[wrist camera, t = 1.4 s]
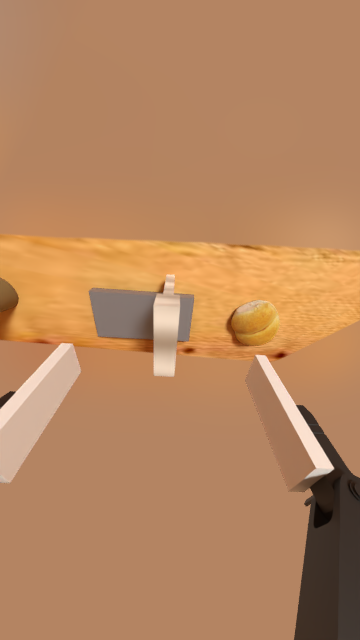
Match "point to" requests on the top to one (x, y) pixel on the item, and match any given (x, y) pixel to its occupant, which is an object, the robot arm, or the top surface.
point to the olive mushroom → (7, 296)
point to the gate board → (134, 313)
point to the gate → (166, 329)
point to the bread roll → (255, 323)
